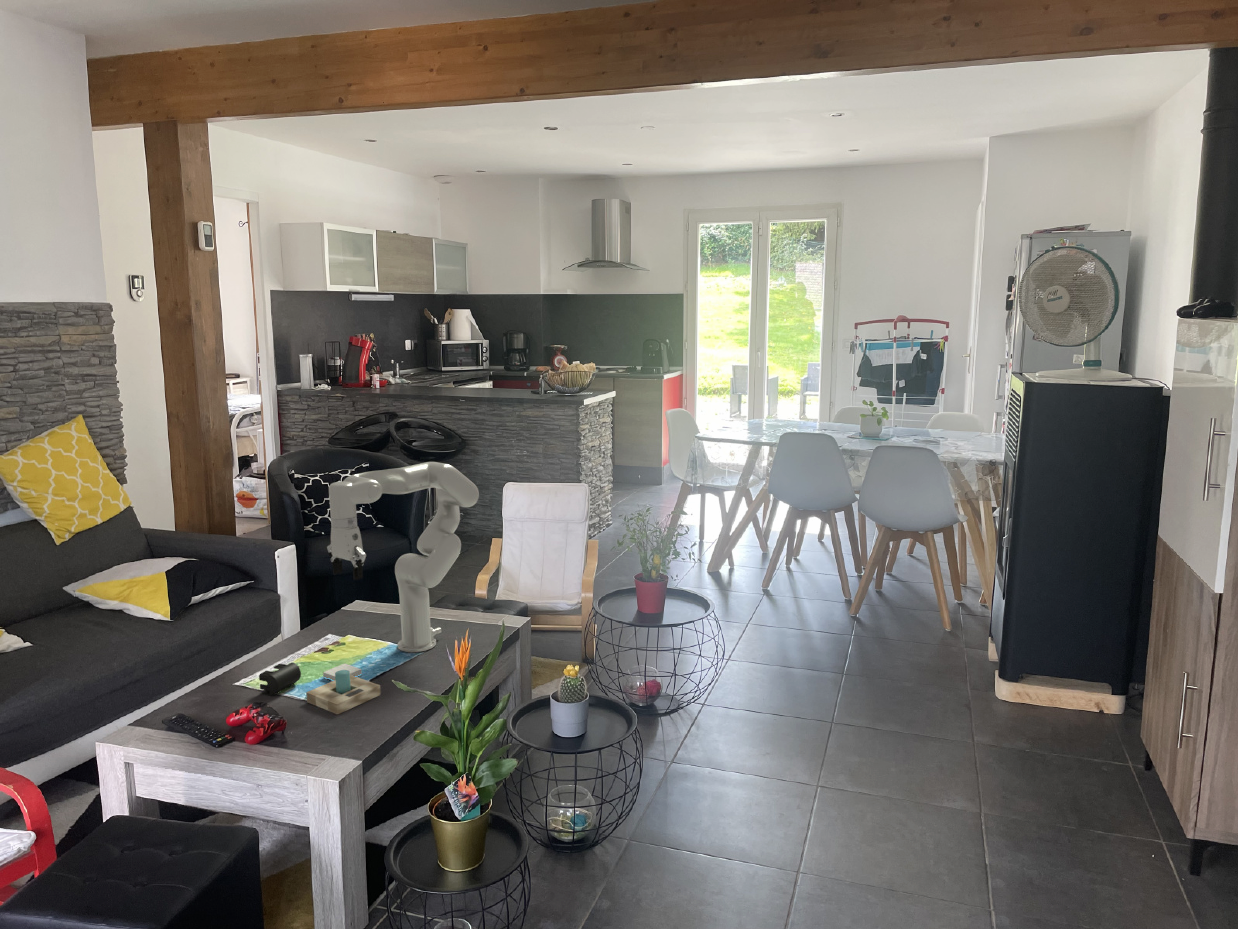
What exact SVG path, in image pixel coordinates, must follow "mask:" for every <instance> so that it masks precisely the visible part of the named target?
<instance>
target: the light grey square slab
mask: <svg viewBox="0 0 1238 929" xmlns="http://www.w3.org/2000/svg"><path fill="white" fill-rule="evenodd" d="M340 670H348V671H349V672H350V675H352V676H358V675H360V674H363V672H362V669H361V668H359V667H356V666H353V665H350V664H348V663H342V664H339V665H337V666H334V667H333V668H329V669H328V670H325V671H323V672H322V676H323V678H324V677H326V678H330V679H332V680H335V673H336V672H337V671H340Z"/></svg>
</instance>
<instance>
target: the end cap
mask: <svg viewBox="0 0 1238 929" xmlns="http://www.w3.org/2000/svg"><path fill="white" fill-rule="evenodd" d="M273 669H277V670H274V671H273V670H264V671H263V672H261V673H260V674H259V675H258V679H259V681H262V682H266V683H267V684H263V683H259V689H260V690H262V691H261V694H262V695H265V696H270V697H273V696H275V695H277V694H279V693H281V692H282V691H284V690H286V689H288V688H289V687H291V686H292V684H293V685H294V683H295V684H296V683H297V682H298V681H299V680H300V679H301V677H302V672H301V671H302V670H301V669H300V667H299V666H298V664H296V663H295V662H290V663H288V664H285V663H278V664H277V665H274V666H273ZM287 687H288V688H287ZM285 688H286V689H285ZM280 691H281V692H280ZM278 692H279V693H278Z"/></svg>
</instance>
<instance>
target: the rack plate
mask: <svg viewBox="0 0 1238 929" xmlns="http://www.w3.org/2000/svg"><path fill="white" fill-rule="evenodd" d="M350 685H351V691H348V692H346V693H344V694H342V695H341V694H339V693H336V680H334V681H330V682H328V683H327V682H326V683H325V684H323V685H320V686H318V687H316V688H313V689H311V690H308V691H306V692H305V694H306V696H305V697H306V703H309V704H311V705H313V706H316V707H318V708H321V709H323V710H326V711H327V712H331V713H332V714H335V715H340V714H341V713H344V712H346V711H349V710H351V709H352V708H355V707H357V706H359V705H361V704H364V703H366V702H368V701H371V700H373V699H374V698H377V697H379V696H381V685H380V684H377V683H374V682H372V681H369V680H366V679H364V678H360V677H355V676H352V675H350Z"/></svg>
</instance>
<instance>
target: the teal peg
mask: <svg viewBox="0 0 1238 929" xmlns="http://www.w3.org/2000/svg"><path fill="white" fill-rule="evenodd" d="M335 680H336V693H339V694H341V695H342V694H344V693H346V692H348V691H351V685H350V672H349V671H348V670H340V671H337V672H336V673H335Z"/></svg>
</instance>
